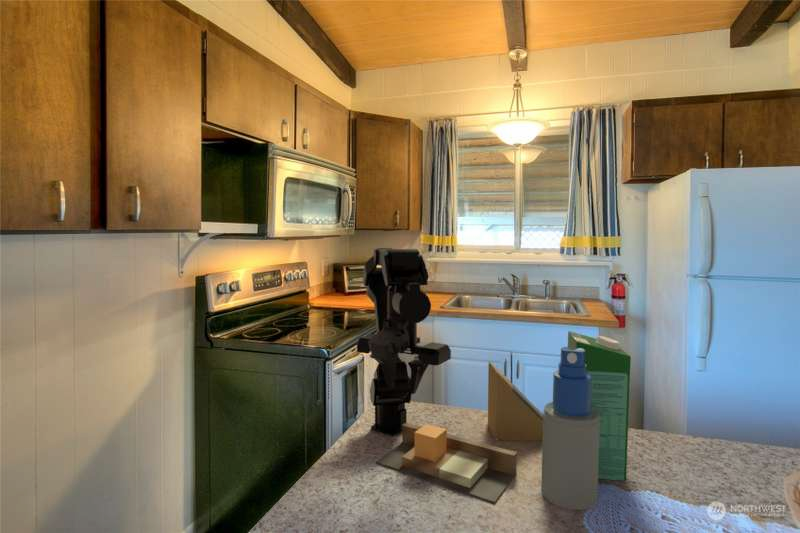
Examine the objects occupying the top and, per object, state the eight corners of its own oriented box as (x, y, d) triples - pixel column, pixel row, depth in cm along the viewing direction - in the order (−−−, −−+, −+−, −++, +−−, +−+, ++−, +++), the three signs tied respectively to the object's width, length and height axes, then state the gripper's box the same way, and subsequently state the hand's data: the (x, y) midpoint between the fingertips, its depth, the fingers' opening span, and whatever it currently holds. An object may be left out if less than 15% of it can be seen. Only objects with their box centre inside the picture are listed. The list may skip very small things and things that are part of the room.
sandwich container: (567, 440, 95) (568, 372, 94) (495, 441, 95) (496, 372, 94) (552, 423, 103) (554, 360, 102) (487, 424, 103) (488, 360, 102)
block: (414, 455, 84) (414, 432, 84) (426, 445, 88) (426, 423, 88) (435, 461, 82) (435, 438, 81) (446, 451, 85) (446, 429, 85)
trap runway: (375, 463, 85) (375, 442, 85) (405, 440, 94) (406, 422, 94) (494, 503, 72) (495, 480, 72) (516, 473, 81) (516, 452, 81)
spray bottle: (595, 516, 69) (600, 358, 67) (536, 500, 73) (539, 351, 72) (599, 487, 77) (603, 345, 75) (546, 474, 81) (549, 340, 79)
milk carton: (626, 481, 79) (631, 343, 77) (572, 476, 81) (576, 340, 79) (612, 456, 88) (617, 332, 86) (564, 452, 89) (567, 330, 88)
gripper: (338, 314, 85) (339, 394, 86) (423, 325, 75) (423, 415, 76) (372, 306, 94) (373, 378, 95) (452, 315, 84) (451, 395, 85)
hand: (402, 391), depth 88 cm, fingers open, 5 cm apart
